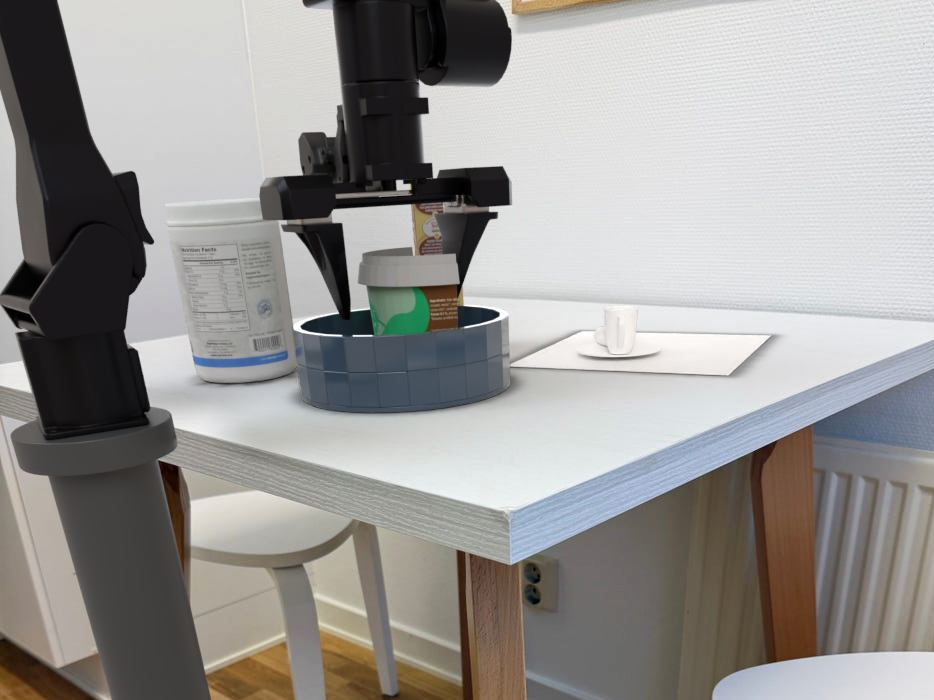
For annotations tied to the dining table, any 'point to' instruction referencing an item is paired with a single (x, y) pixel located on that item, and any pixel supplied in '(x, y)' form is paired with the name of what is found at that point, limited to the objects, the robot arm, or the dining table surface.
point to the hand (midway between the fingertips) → (399, 313)
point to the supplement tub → (232, 289)
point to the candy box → (428, 232)
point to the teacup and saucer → (644, 349)
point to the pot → (401, 362)
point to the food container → (410, 290)
